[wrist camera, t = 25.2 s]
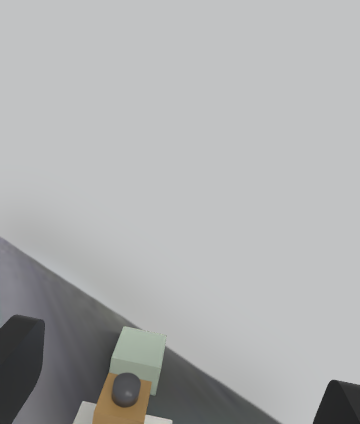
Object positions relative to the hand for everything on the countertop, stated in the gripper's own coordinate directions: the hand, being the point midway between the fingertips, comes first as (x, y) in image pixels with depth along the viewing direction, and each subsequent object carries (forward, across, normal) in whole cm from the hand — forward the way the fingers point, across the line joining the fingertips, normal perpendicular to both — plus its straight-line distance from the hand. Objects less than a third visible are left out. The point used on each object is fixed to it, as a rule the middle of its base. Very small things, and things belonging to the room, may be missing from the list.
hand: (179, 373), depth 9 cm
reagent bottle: (+16, +3, +30) cm, 35 cm away
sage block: (+31, +4, +31) cm, 44 cm away
